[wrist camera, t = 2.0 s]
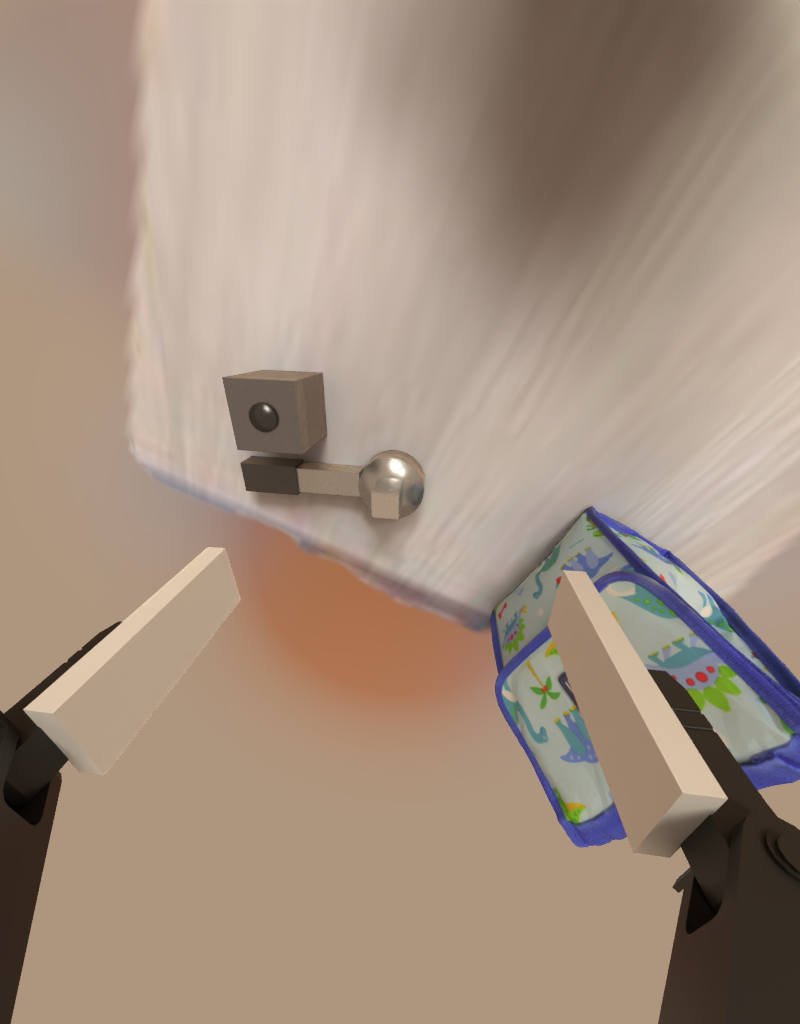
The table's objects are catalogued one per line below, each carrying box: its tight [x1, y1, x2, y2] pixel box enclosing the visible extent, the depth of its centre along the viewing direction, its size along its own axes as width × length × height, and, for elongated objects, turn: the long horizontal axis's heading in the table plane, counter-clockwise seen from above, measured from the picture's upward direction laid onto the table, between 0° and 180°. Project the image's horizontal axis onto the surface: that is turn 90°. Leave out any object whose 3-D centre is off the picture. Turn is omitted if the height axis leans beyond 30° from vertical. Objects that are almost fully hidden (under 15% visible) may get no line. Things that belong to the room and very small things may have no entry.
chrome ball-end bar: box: [241, 450, 425, 520], centre depth 39 cm, size 8×23×8 cm, turn 88°
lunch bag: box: [491, 506, 800, 847], centre depth 35 cm, size 22×17×26 cm
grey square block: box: [222, 370, 327, 454], centre depth 35 cm, size 7×7×8 cm
